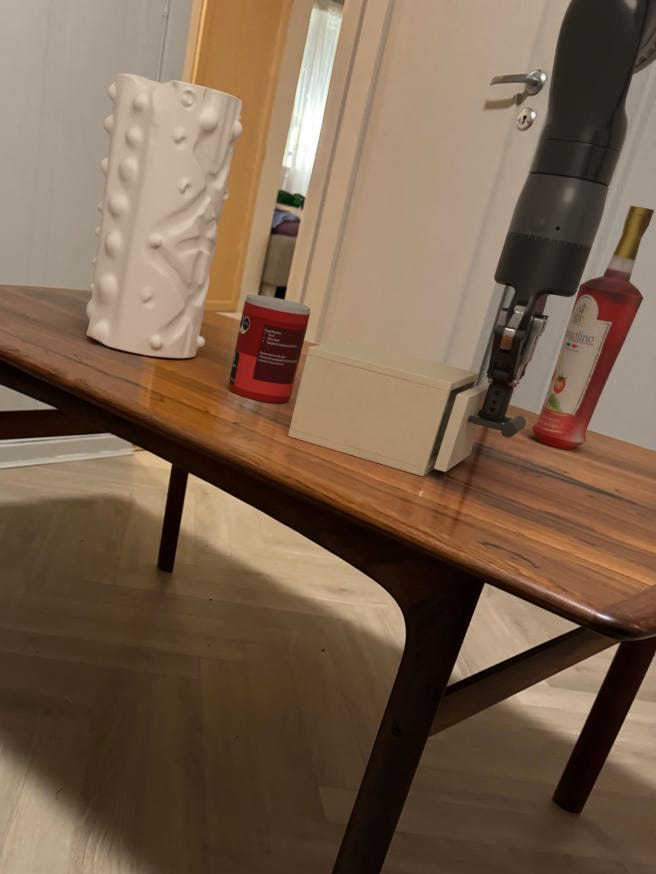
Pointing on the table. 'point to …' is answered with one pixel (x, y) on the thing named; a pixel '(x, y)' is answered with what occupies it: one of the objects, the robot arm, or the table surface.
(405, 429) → the cabinet
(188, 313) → the vase
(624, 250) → the liquor
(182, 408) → the table surface
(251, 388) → the canned food
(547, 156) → the robot arm
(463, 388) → the drawer
